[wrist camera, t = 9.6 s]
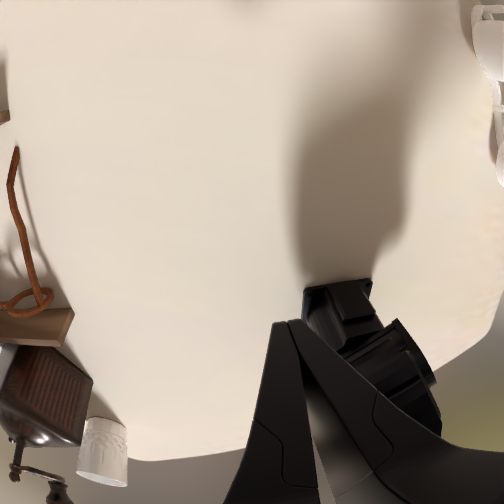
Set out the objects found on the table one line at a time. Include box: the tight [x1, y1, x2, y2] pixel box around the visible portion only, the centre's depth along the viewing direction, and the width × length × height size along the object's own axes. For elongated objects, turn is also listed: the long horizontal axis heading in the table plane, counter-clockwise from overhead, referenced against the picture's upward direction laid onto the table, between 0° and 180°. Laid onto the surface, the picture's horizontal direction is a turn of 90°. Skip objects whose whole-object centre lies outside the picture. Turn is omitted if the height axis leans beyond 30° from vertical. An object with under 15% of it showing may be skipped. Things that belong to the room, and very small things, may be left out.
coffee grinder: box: [0, 343, 93, 504], centre depth 19 cm, size 16×11×18 cm
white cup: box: [76, 417, 127, 487], centre depth 30 cm, size 8×8×10 cm
